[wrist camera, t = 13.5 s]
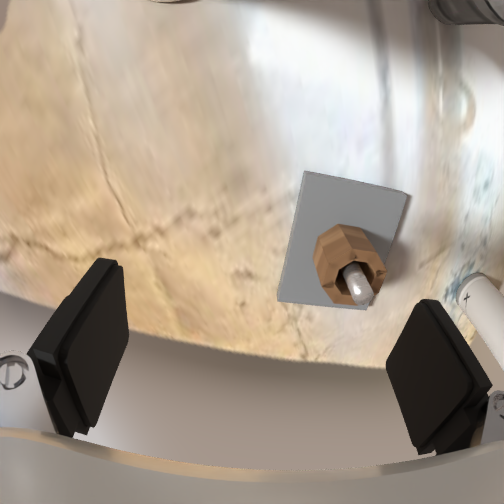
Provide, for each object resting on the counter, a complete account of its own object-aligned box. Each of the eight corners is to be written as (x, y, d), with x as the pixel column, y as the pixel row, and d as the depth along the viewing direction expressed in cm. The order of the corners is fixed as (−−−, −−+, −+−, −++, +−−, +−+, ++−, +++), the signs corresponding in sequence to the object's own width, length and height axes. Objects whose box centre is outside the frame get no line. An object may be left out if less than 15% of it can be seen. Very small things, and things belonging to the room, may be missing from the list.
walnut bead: (321, 220, 35) (333, 245, 29) (374, 229, 35) (393, 254, 30) (308, 271, 38) (316, 301, 32) (358, 277, 38) (372, 307, 33)
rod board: (303, 170, 34) (306, 174, 32) (401, 191, 34) (407, 195, 33) (276, 294, 41) (277, 301, 40) (363, 303, 42) (366, 310, 41)
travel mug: (448, 292, 41) (515, 391, 24) (479, 264, 39) (557, 354, 21) (460, 313, 43) (519, 407, 26) (489, 288, 41) (557, 374, 23)
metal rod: (335, 241, 36) (357, 286, 28) (351, 244, 36) (376, 288, 28) (331, 257, 37) (350, 304, 29) (347, 259, 37) (369, 305, 29)
